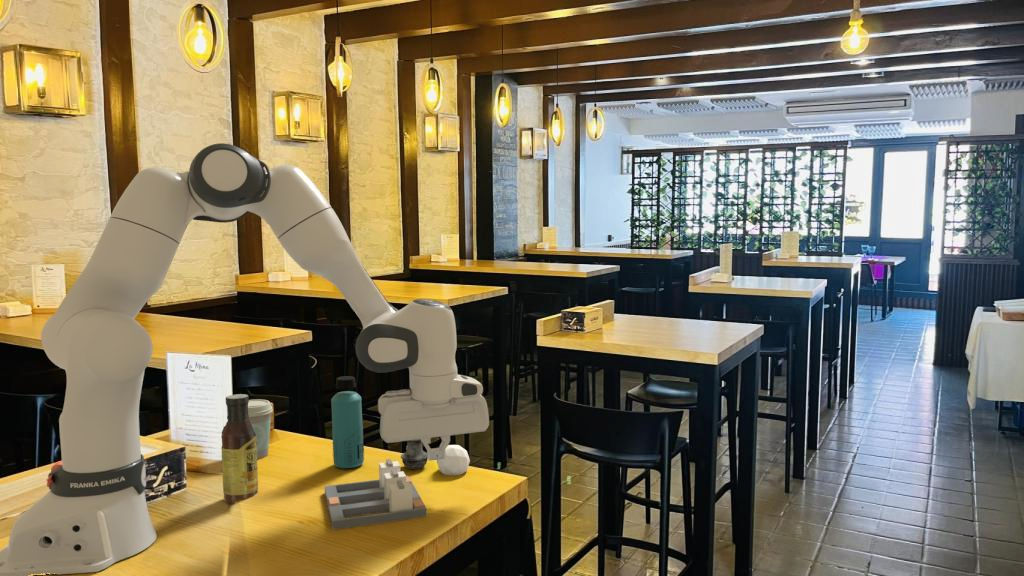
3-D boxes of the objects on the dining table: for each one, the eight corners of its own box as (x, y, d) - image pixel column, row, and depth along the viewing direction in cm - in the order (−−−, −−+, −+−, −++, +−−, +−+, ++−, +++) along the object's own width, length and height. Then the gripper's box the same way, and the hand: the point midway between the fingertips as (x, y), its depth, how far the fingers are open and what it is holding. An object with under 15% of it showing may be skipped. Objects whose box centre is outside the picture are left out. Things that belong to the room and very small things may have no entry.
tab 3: (392, 518, 125) (391, 487, 124) (389, 512, 127) (388, 481, 127) (412, 515, 126) (412, 484, 125) (409, 509, 128) (409, 479, 128)
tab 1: (381, 493, 136) (381, 464, 135) (379, 488, 139) (378, 460, 138) (400, 491, 137) (400, 462, 137) (398, 486, 140) (397, 458, 139)
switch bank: (332, 535, 120) (332, 519, 120) (324, 498, 136) (324, 484, 136) (426, 522, 126) (426, 506, 125) (408, 488, 142) (408, 474, 141)
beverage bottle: (361, 475, 149) (358, 380, 147) (329, 475, 149) (325, 380, 147) (367, 464, 155) (365, 373, 153) (337, 465, 155) (334, 373, 153)
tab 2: (387, 505, 130) (386, 475, 130) (384, 499, 133) (383, 470, 132) (406, 502, 131) (406, 473, 131) (403, 497, 134) (403, 468, 134)
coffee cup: (226, 461, 158) (224, 407, 157) (247, 448, 167) (244, 398, 166) (262, 462, 157) (260, 409, 156) (281, 450, 165) (279, 399, 164)
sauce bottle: (255, 504, 134) (250, 399, 132) (220, 506, 133) (215, 401, 131) (261, 491, 141) (257, 391, 139) (228, 493, 140) (223, 393, 138)
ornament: (471, 481, 145) (450, 456, 142) (444, 487, 148) (424, 463, 145) (479, 456, 150) (460, 432, 147) (454, 463, 153) (434, 440, 150)
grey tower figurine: (424, 478, 147) (422, 420, 146) (396, 476, 148) (395, 419, 147) (432, 468, 153) (431, 413, 152) (406, 466, 154) (405, 411, 153)
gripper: (380, 396, 127) (383, 472, 128) (490, 385, 133) (492, 457, 135) (374, 388, 133) (377, 460, 134) (481, 377, 139) (482, 447, 141)
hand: (436, 459), depth 135 cm, fingers closed
